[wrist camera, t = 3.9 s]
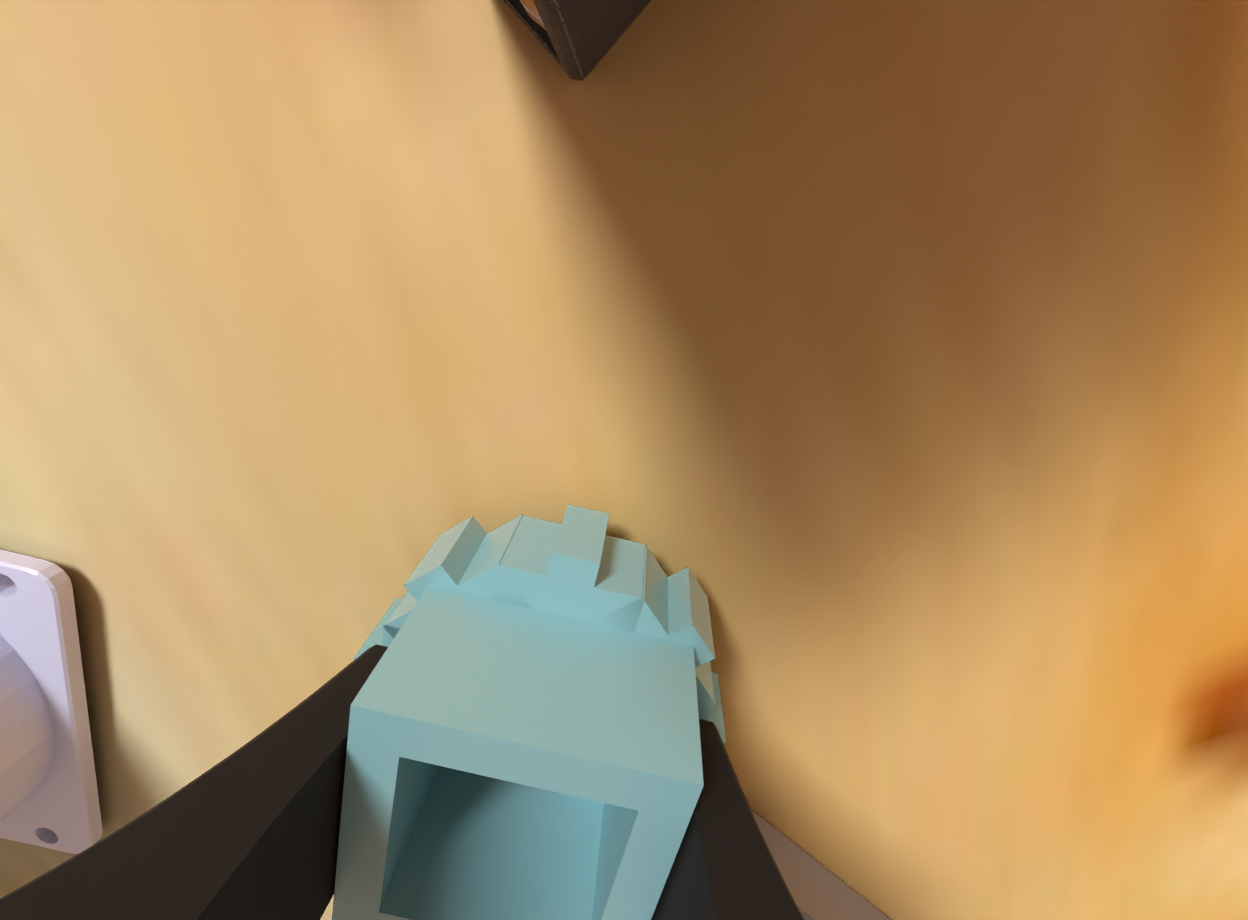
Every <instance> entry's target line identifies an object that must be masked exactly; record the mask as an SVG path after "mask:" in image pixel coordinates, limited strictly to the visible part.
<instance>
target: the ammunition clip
mask: <svg viewBox="0 0 1248 920" xmlns="http://www.w3.org/2000/svg"><path fill="white" fill-rule="evenodd" d="M504 1H505V2H506V3H507V4H508V6H509V7H510V8H511V9H512V10H513V11H514V12H515V14H516V15H517V16H518V17H519V18H520V19H521V20H522V22H523V23H524V24H525V25H526V26H527V27H528V29H529V30H530V31H531V32H532V33H533V34H534V35H535V37H536V38H537V39H538V40H539V41H540V42H541V44H542V45H543V46H544V47H545V48H546V49H547V50H548V52H549V53H550V54H551V55H552V56H553V57H554V58H555V60H556V61H557V62H558V63H559V64H560V65H561V67H562V68H563V69H564V70H565V71H566V72H567V73H568V75H569V76H570V77H571V78H572V79H575V80H584V79H585V77H586V76H587V75H588V74H589V73H590V72H591V70H592V69H593V68H594V67H595V66H596V64H597V63H598V62H599V61H600V60H601V59H602V57H603V56H604V55H605V54H606V53H607V52H608V50H609V49H610V48H611V47H612V46H613V45H614V43H615V42H616V41H617V40H618V39H619V37H620V36H621V35H622V34H623V33H624V32H625V30H626V29H627V28H628V27H629V26H630V25H631V23H632V22H633V21H634V20H635V19H636V18H637V16H638V15H639V14H640V13H641V12H642V10H643V9H644V8H645V7H646V6H647V5H648V3H649V2H650V1H651V0H504Z"/></svg>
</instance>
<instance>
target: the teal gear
mask: <svg viewBox="0 0 1248 920" xmlns="http://www.w3.org/2000/svg"><path fill="white" fill-rule="evenodd" d="M608 518H609V514H607V513H603V512H599V511H595V510H591V509H587V508H582V507H578V506H574V505H570V504H568V506H567V509H566V512H565V515H564V518H563V521H562V524H558V523H553V522H549V521H545V520H541V519H537V518H532V517H528V516H524V515H523V514H522V515H520V516H519V517H517V518H515V519H513V520H511V521H510V522H508V523H506V524H504V525H502V526H501V527H499V528H497V529H495V530H493V531H492V532H490V533H488V534H487V533H486V532H485V531H484V530H483V528H482V527H481V526H480V524H479V523H478V522H477V520H476V519H475V518H474V516H472V517H470V518H468V519H466V520H465V521H463V522H461V523H459V524H458V525H456V526H454V527H452V528H451V529H449V530H447V531H445V532H444V533H442V534H440V536H439V537H438V539H437V540H436V541H435V543H434V544H433V546H432V547H431V548H430V550H429V551H428V553H427V554H426V555H425V557H424V558H423V559H422V561H421V562H420V564H419V565H418V566H417V568H416V569H415V571H414V572H413V573H412V575H411V576H410V577H409V579H408V580H407V582H406V583H405V584H404V587H405V588H406V589H407V592H406V593H405V595H404V596H403V598H402V599H397V598H396V600H395V601H394V603H393V604H392V605H391V607H390V608H389V610H388V611H387V612H386V614H385V615H384V617H383V618H382V619H381V621H380V622H379V624H378V625H377V626H376V628H375V629H374V630H373V632H372V633H371V635H370V636H369V637H368V639H367V640H366V642H365V643H364V644H363V646H362V647H361V649H360V650H359V651H358V653H357V654H356V656H355V657H354V660H355V659H356V658H358V657H359V656H360V655H361V654H362V653H364V652H365V651H366V650H367V649H369V648H370V647H372V646H374V645H376V644H377V645H382V646H386V647H388V648H387V650H386V651H385V653H384V654H383V656H382V658H381V659H380V661H379V662H378V664H377V665H376V667H375V668H374V670H373V671H372V673H371V674H370V676H369V677H368V679H367V681H366V682H365V684H364V685H363V687H362V688H361V690H360V691H359V693H358V694H357V696H356V697H355V699H354V700H353V702H352V704H351V706H350V718H349V729H348V741H347V752H346V764H345V775H344V787H343V798H342V810H341V821H340V833H339V844H338V856H337V867H336V879H335V890H334V902H333V913H332V920H651V918H652V916H653V913H654V911H655V908H656V906H657V903H658V901H659V898H660V895H661V893H662V890H663V888H664V885H665V883H666V880H667V878H668V875H669V873H670V870H671V867H672V865H673V862H674V860H675V857H676V855H677V852H678V850H679V847H680V844H681V842H682V839H683V837H684V834H685V832H686V829H687V827H688V824H689V822H690V819H691V816H692V814H693V811H694V809H695V806H696V804H697V801H698V799H699V796H700V794H701V791H702V788H703V786H704V783H703V769H702V755H701V741H700V728H699V719H702V720H706V721H711V722H713V723H714V724H715V726H716V728H717V729H718V732H719V734H720V737H721V739H722V742H723V744H724V747H725V745H726V736H725V728H724V719H723V711H722V703H721V695H720V687H719V679H718V673H714V672H712V665H711V660H713V659H715V652H714V644H713V636H712V627H711V619H710V611H709V603H708V597H707V595H706V594H705V592H704V591H703V589H702V588H701V586H700V585H699V583H698V582H697V580H696V578H695V577H694V575H693V574H692V572H691V571H690V569H689V568H688V567H687V568H685V569H683V570H681V571H679V572H677V573H675V574H673V575H671V576H669V577H667V575H666V574H665V572H664V571H663V569H662V568H661V566H660V565H659V563H658V562H657V560H656V559H655V557H654V556H653V554H652V553H651V551H650V550H649V549H648V547H647V545H646V544H641V543H637V542H633V541H629V540H625V539H620V538H616V537H612V536H608V535H605V534H606V529H607V524H608Z"/></svg>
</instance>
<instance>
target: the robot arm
mask: <svg viewBox="0 0 1248 920" xmlns="http://www.w3.org/2000/svg"><path fill="white" fill-rule="evenodd" d="M387 648H388V647H386V646H382V645H377V644H376V645H374V646H372V647H370V648H369V649H367V650H366V651H365V652H364V653H362V654H361V655H360V656H359V657H358V658H356V659H355V660H354V661H353V662H352V663H350V664H349V665H348V666H347V667H345V668H344V669H343V670H342V671H341V672H339V673H338V674H337V675H336V676H334V677H333V678H332V679H331V680H329V681H328V682H327V683H326V684H324V685H323V686H322V687H321V688H319V689H318V690H317V691H316V692H314V693H313V694H312V695H310V696H309V697H308V698H307V699H305V700H304V701H303V702H302V703H300V704H299V705H298V706H296V707H295V708H294V709H292V710H291V711H290V712H288V713H287V714H286V715H284V716H283V717H282V718H280V719H279V720H278V721H276V722H275V723H274V724H272V725H271V726H270V727H268V728H267V729H266V730H264V731H263V732H262V733H260V734H259V735H258V736H256V737H255V738H254V739H252V740H251V741H250V742H248V743H247V744H245V745H244V746H243V747H241V748H240V749H239V750H237V751H236V752H234V753H233V754H232V755H230V756H229V757H227V758H226V759H224V760H223V761H221V762H220V763H218V764H217V765H215V766H214V767H213V768H211V769H210V770H208V771H207V772H205V773H204V774H202V775H201V776H199V777H198V778H196V779H195V780H194V781H192V782H191V783H189V784H188V785H186V786H185V787H183V788H182V789H180V790H179V791H177V792H176V793H175V794H173V795H172V796H170V797H169V798H167V799H166V800H164V801H163V802H161V803H159V804H158V805H156V806H155V807H153V808H152V809H150V810H149V811H147V812H145V813H144V814H142V815H141V816H139V817H138V818H136V819H135V820H133V821H131V822H130V823H128V824H127V825H125V826H123V827H122V828H120V829H119V830H117V831H115V832H114V833H112V834H111V835H109V836H107V837H106V838H104V839H102V840H101V841H99V842H97V841H98V840H99V839H100V838H101V837H102V832H103V830H102V821H101V813H100V805H99V797H98V789H97V781H96V773H95V765H94V757H93V749H92V741H91V733H90V725H89V717H88V708H87V700H86V692H85V684H84V676H83V668H82V660H81V652H80V644H79V636H78V628H77V620H76V612H75V604H74V596H73V587H72V583H71V580H70V578H69V576H68V575H67V574H66V572H65V571H64V570H63V569H62V568H60V567H59V566H57V565H56V564H54V563H51V562H49V561H46V560H43V559H38V558H34V557H30V556H26V555H21V554H17V553H13V552H8V551H4V550H0V838H3V839H7V840H12V841H16V842H21V843H25V844H30V845H34V846H39V847H43V848H48V849H52V850H57V851H61V852H66V853H71V854H77V855H76V856H74V857H72V858H71V859H69V860H68V861H66V862H64V863H62V864H61V865H59V866H57V867H56V868H54V869H52V870H51V871H49V872H47V873H45V874H43V875H42V876H40V877H38V878H36V879H35V880H33V881H31V882H29V883H27V884H26V885H24V886H22V887H20V888H19V889H17V890H15V891H13V892H11V893H10V894H8V895H6V896H4V897H3V898H1V899H0V920H320V918H321V916H322V915H323V913H324V911H325V909H326V907H327V905H328V904H329V902H330V900H331V898H332V896H333V895H334V890H335V879H336V867H337V856H338V844H339V833H340V821H341V810H342V798H343V787H344V775H345V764H346V752H347V741H348V729H349V718H350V706H351V704H352V702H353V700H354V699H355V697H356V696H357V694H358V693H359V691H360V690H361V688H362V687H363V685H364V684H365V682H366V681H367V679H368V677H369V676H370V674H371V673H372V671H373V670H374V668H375V667H376V665H377V664H378V662H379V661H380V659H381V658H382V656H383V654H384V653H385V651H386V650H387ZM699 728H700V741H701V755H702V769H703V783H704V786H703V788H702V791H701V794H700V796H699V799H698V801H697V804H696V806H695V809H694V811H693V814H692V816H691V819H690V822H689V824H688V827H687V829H686V832H685V834H684V837H683V839H682V842H681V844H680V847H679V850H678V852H677V855H676V857H675V860H674V862H673V865H672V867H671V870H670V873H669V875H668V878H667V880H666V883H665V885H664V888H663V890H662V893H661V895H660V898H659V901H658V903H657V906H656V908H655V911H654V913H653V916H652V918H651V920H804V918H803V916H802V914H801V912H800V910H799V908H798V907H797V905H796V903H795V901H794V899H793V897H792V895H791V893H790V891H789V889H788V887H787V885H786V883H785V881H784V879H783V877H782V875H781V873H780V871H779V868H778V866H777V864H776V862H775V860H774V858H773V856H772V854H771V852H770V850H769V848H768V845H767V843H766V841H765V839H764V837H763V835H762V833H761V831H760V829H759V826H758V824H757V822H756V820H755V818H754V815H753V813H752V811H751V809H750V806H749V804H748V802H747V799H746V797H745V795H744V793H743V790H742V788H741V786H740V783H739V781H738V779H737V776H736V774H735V771H734V769H733V767H732V764H731V762H730V759H729V757H728V754H727V752H726V749H725V747H724V744H723V742H722V739H721V737H720V734H719V732H718V729H717V728H716V726H715V724H714V723H713V722H711V721H706V720H702V719H699ZM96 842H97V843H96ZM95 843H96V844H95Z"/></svg>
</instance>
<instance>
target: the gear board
mask: <svg viewBox="0 0 1248 920" xmlns="http://www.w3.org/2000/svg"><path fill="white" fill-rule="evenodd" d="M751 811H752V813H753V815H754V818H755V820H756V822H757V824H758V826H759V829H760V831H761V833H762V835H763V837H764V839H765V841H766V843H767V845H768V848H769V850H770V852H771V854H772V856H773V858H774V860H775V862H776V864H777V866H778V868H779V871H780V873H781V875H782V877H783V879H784V881H785V883H786V885H787V887H788V889H789V891H790V893H791V895H792V897H793V899H794V901H795V903H796V905H797V907H798V908H799V910H800V912H801V914H802V916H803V918H804V920H891V919H890V918H888V917H887V916H886V915H885V914H883V913H882V912H881V911H880V910H878V909H877V908H876V907H874V906H873V905H872V904H871V903H869V902H868V901H867V900H866V899H864V898H863V897H862V896H861V895H859V894H858V893H857V892H855V891H854V890H853V889H852V888H850V887H849V886H848V885H847V884H845V883H844V882H843V881H841V880H840V879H839V878H838V877H836V876H835V875H834V874H833V873H831V872H830V871H829V870H828V869H826V868H825V867H824V866H822V865H821V864H820V863H819V862H817V861H816V860H815V859H814V858H812V857H811V856H810V855H809V854H807V853H806V852H805V851H803V850H802V849H801V848H800V847H798V846H797V845H796V844H795V843H793V842H792V841H791V840H789V839H788V838H787V837H786V836H784V835H783V834H782V833H781V832H779V831H778V830H777V829H776V828H774V827H773V826H772V825H770V824H769V823H768V822H767V821H765V820H764V819H763V818H762V817H760V816H759V815H758V814H756V813H755V812H754V811H753V810H751Z"/></svg>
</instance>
